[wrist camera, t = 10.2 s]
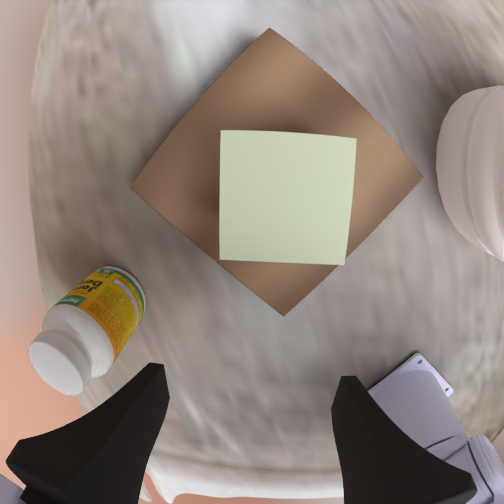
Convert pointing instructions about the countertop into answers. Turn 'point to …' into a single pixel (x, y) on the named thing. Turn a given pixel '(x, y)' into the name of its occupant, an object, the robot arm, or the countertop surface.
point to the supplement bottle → (87, 330)
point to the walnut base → (280, 120)
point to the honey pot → (474, 167)
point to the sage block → (285, 196)
